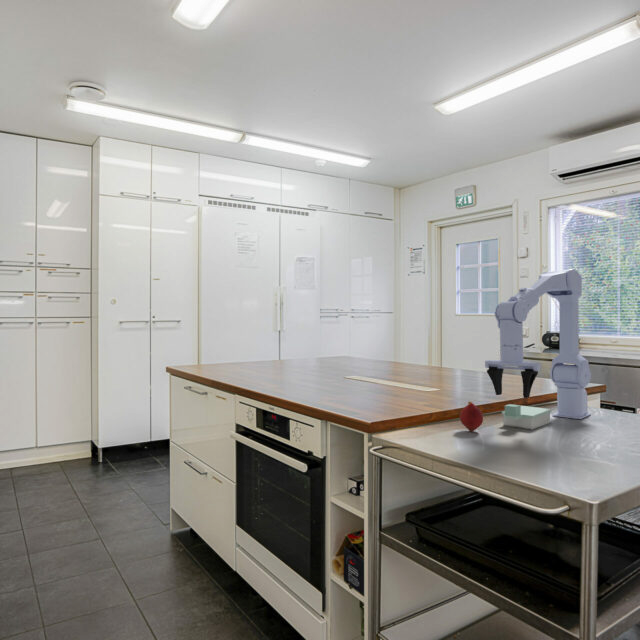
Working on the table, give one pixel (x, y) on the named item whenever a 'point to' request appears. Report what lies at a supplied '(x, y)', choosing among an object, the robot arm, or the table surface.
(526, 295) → the robot arm
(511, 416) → the lid
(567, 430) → the table surface
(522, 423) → the tub
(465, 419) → the onion
